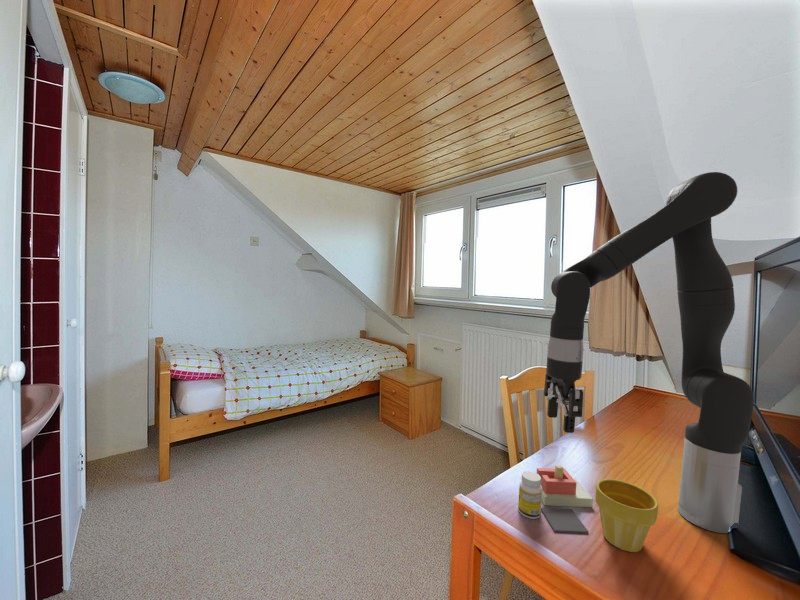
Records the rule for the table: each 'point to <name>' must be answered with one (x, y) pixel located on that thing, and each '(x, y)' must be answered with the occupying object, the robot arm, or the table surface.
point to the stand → (567, 500)
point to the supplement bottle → (530, 495)
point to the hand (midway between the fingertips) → (559, 424)
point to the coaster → (564, 520)
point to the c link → (556, 482)
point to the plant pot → (625, 513)
